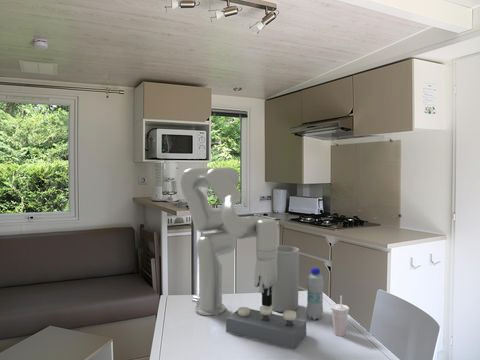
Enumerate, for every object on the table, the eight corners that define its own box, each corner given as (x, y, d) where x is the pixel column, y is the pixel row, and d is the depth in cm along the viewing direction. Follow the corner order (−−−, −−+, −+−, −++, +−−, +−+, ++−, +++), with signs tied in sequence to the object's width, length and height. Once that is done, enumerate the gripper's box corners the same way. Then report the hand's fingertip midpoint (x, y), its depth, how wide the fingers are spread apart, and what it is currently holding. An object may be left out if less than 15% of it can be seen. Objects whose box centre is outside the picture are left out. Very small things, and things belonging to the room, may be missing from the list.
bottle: (323, 322, 143) (324, 270, 142) (305, 320, 144) (306, 269, 143) (323, 315, 149) (324, 266, 148) (306, 313, 150) (306, 265, 150)
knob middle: (257, 326, 132) (257, 308, 131) (263, 321, 135) (263, 304, 135) (268, 328, 129) (269, 311, 129) (274, 324, 133) (274, 306, 133)
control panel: (226, 331, 134) (226, 318, 133) (242, 319, 144) (242, 307, 144) (294, 349, 121) (294, 334, 121) (306, 335, 132) (306, 321, 131)
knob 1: (235, 327, 136) (235, 310, 136) (241, 322, 140) (241, 306, 140) (246, 329, 134) (246, 312, 134) (251, 325, 138) (251, 308, 138)
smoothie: (338, 339, 128) (339, 299, 128) (326, 331, 134) (327, 293, 134) (352, 335, 131) (353, 296, 131) (340, 328, 137) (340, 291, 137)
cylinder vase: (264, 310, 154) (265, 250, 153) (273, 300, 165) (274, 244, 164) (293, 315, 149) (294, 253, 148) (301, 304, 161) (302, 247, 160)
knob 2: (281, 331, 127) (281, 313, 127) (286, 326, 131) (286, 309, 131) (293, 334, 125) (293, 316, 125) (297, 329, 129) (298, 311, 129)
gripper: (266, 249, 140) (266, 297, 140) (247, 257, 127) (247, 310, 127) (284, 251, 136) (284, 300, 137) (267, 259, 123) (267, 314, 124)
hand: (266, 305), depth 132 cm, fingers closed
